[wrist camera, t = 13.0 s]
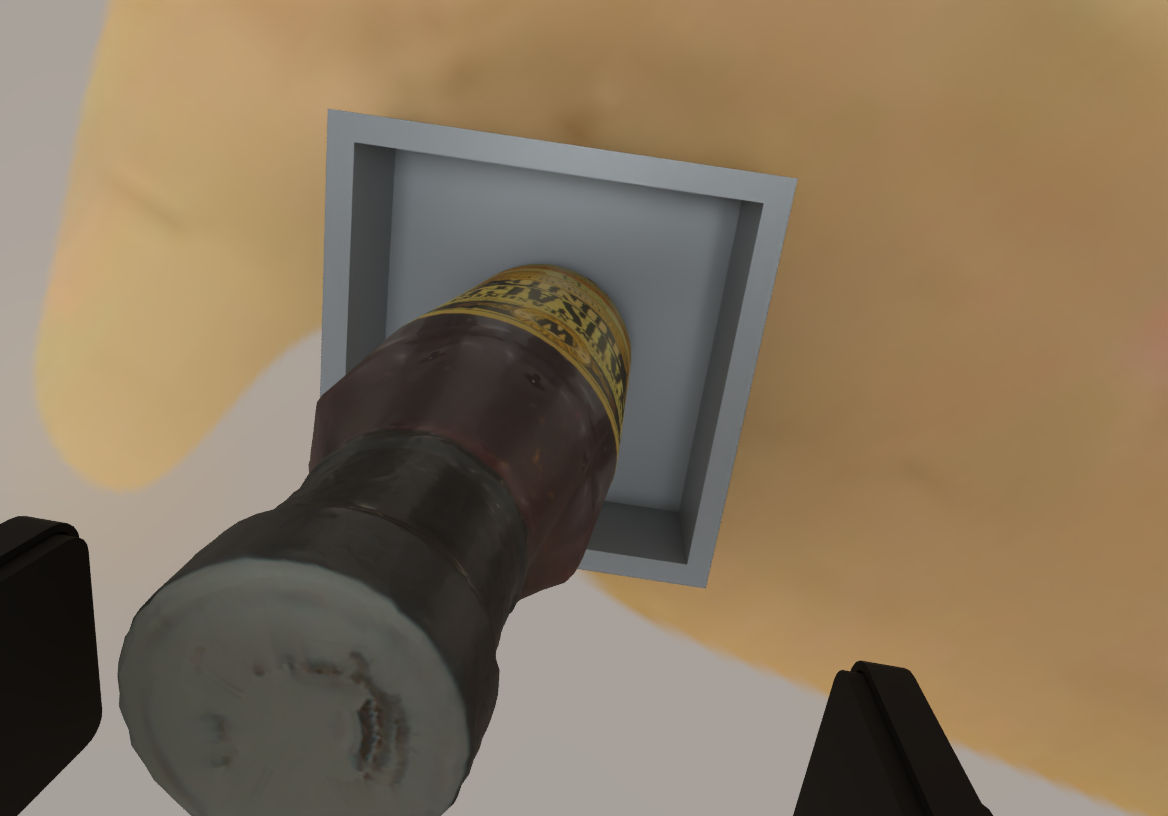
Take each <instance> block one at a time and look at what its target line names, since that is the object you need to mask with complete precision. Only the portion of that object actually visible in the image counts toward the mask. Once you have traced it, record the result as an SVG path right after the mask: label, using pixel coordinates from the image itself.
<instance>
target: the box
mask: <svg viewBox="0 0 1168 816" xmlns="http://www.w3.org/2000/svg"><path fill="white" fill-rule="evenodd" d="M797 180H798V179H797V178H790V177H784V176H777V175H770V174H763V173H757V172H750V171H743V170H737V169H730V168H723V167H716V166H710V165H703V164H696V163H690V162H683V161H676V160H669V159H663V158H656V157H649V156H643V155H636V154H629V153H622V152H616V151H609V150H602V149H596V148H589V147H582V146H575V145H569V144H562V143H555V142H549V141H542V140H535V139H528V138H522V137H515V136H508V135H502V134H495V133H488V132H481V131H475V130H468V129H461V128H454V127H448V126H441V125H434V124H428V123H421V122H414V121H407V120H401V119H394V118H387V117H381V116H374V115H367V114H360V113H354V112H347V111H340V110H334V109H328V122H327V160H326V198H325V235H324V273H323V311H322V349H321V350H322V351H321V386H320V397H321V396H322V395H323V394H324V393H325V392H326V391H327V390H329V389H330V388H331V387H332V386H333V385H334V384H336V383H337V382H338V381H339V380H340V379H342V378H343V377H344V376H345V375H346V374H347V373H348V372H350V371H351V370H352V369H353V368H354V367H355V366H356V365H358V364H359V363H360V362H361V361H362V360H363V359H364V358H366V357H367V356H368V355H369V354H370V353H371V352H372V351H374V350H375V349H376V348H377V347H378V346H379V345H380V344H381V343H383V342H384V341H385V340H386V339H387V338H388V337H389V336H390V335H392V334H393V333H394V332H395V331H397V330H398V329H399V328H401V327H402V326H403V325H405V324H407V323H409V322H411V321H413V320H415V319H416V318H418V317H420V316H422V315H424V314H426V313H427V312H429V311H431V310H433V309H435V308H437V307H439V306H441V305H442V304H444V303H446V302H448V301H450V300H452V299H453V298H455V297H457V296H459V295H461V294H462V293H464V292H466V291H468V290H469V289H471V288H473V287H475V286H476V285H478V284H480V283H482V282H483V281H485V280H487V279H489V278H490V277H492V276H494V275H496V274H497V273H500V272H502V271H505V270H507V269H511V268H514V267H517V266H522V265H529V264H549V265H555V266H559V267H563V268H566V269H569V270H572V271H575V272H576V273H578V274H581V275H582V276H584V277H585V278H589V279H590V280H592V281H593V282H594V283H596V284H597V286H598V287H599V288H600V289H601V290H602V291H603V292H604V293H606V294H607V295H608V296H609V298H610V300H611V301H612V302H613V303H614V305H615V306H616V308H617V309H618V311H619V313H620V315H621V317H622V319H623V321H624V323H625V326H626V329H627V332H628V335H629V339H630V343H631V367H630V375H629V383H628V390H627V396H626V403H625V411H624V419H623V426H622V434H621V441H620V447H619V453H618V459H617V465H616V471H615V475H614V479H613V481H612V483H611V485H610V487H609V490H608V493H607V495H606V498H605V501H604V503H603V506H602V508H601V511H600V514H599V516H598V519H597V521H596V524H595V527H594V529H593V532H592V535H591V538H590V540H589V543H588V546H587V549H586V551H585V554H584V557H583V559H582V561H581V563H580V565H579V566H578V568H577V569H582V570H588V571H595V572H602V573H608V574H615V575H621V576H628V577H634V578H641V579H647V580H654V581H660V582H667V583H673V584H680V585H687V586H693V587H700V588H706V585H707V581H708V576H709V572H710V567H711V563H712V558H713V554H714V550H715V545H716V541H717V536H718V532H719V527H720V523H721V518H722V514H723V509H724V505H725V500H726V496H727V492H728V487H729V483H730V478H731V474H732V469H733V465H734V460H735V456H736V451H737V447H738V443H739V438H740V434H741V429H742V425H743V420H744V416H745V411H746V407H747V402H748V398H749V394H750V389H751V385H752V380H753V376H754V371H755V367H756V362H757V358H758V353H759V349H760V344H761V340H762V336H763V331H764V327H765V322H766V318H767V313H768V309H769V304H770V300H771V295H772V291H773V287H774V282H775V278H776V273H777V269H778V264H779V260H780V255H781V251H782V246H783V242H784V238H785V233H786V229H787V224H788V220H789V215H790V211H791V206H792V202H793V197H794V193H795V188H796V184H797Z"/></svg>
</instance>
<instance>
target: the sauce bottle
mask: <svg viewBox="0 0 1168 816" xmlns="http://www.w3.org/2000/svg"><path fill="white" fill-rule="evenodd" d="M630 367H631V343H630V339H629V335H628V332H627V329H626V326H625V323H624V321H623V319H622V317H621V315H620V313H619V311H618V309H617V308H616V306H615V305H614V303H613V302H612V301H611V300H610V298H609V296H608V295H607V294H606V293H604V292H603V291H602V290H601V289H600V288H599V287H598V286H597V284H596V283H594V282H593V281H592V280H590V279H589V278H585V277H584V276H582V275H581V274H578V273H576V272H575V271H572V270H569V269H566V268H563V267H559V266H555V265H549V264H529V265H522V266H517V267H514V268H511V269H507V270H505V271H502V272H500V273H497V274H496V275H494V276H492V277H490V278H489V279H487V280H485V281H483V282H482V283H480V284H478V285H476V286H475V287H473V288H471V289H469V290H468V291H466V292H464V293H462V294H461V295H459V296H457V297H455V298H453V299H452V300H450V301H448V302H446V303H444V304H442V305H441V306H439V307H437V308H435V309H433V310H431V311H429V312H427V313H426V314H424V315H422V316H420V317H418V318H416V319H415V320H413V321H411V322H409V323H407V324H405V325H403V326H402V327H401V328H399V329H398V330H397V331H395V332H394V333H393V334H392V335H390V336H389V337H388V338H387V339H386V340H385V341H384V342H383V343H381V344H380V345H379V346H378V347H377V348H376V349H375V350H374V351H372V352H371V353H370V354H369V355H368V356H367V357H366V358H364V359H363V360H362V361H361V362H360V363H359V364H358V365H356V366H355V367H354V368H353V369H352V370H351V371H350V372H348V373H347V374H346V375H345V376H344V377H343V378H342V379H340V380H339V381H338V382H337V383H336V384H334V385H333V386H332V387H331V388H330V389H329V390H327V391H326V392H325V393H324V394H323V395H322V396H321V397H320V399H319V400H318V402H317V406H316V414H315V423H314V432H313V440H312V447H311V455H310V456H311V457H310V462H309V474H308V476H307V478H306V479H305V481H304V483H303V484H302V486H301V487H300V489H298V490H297V491H296V492H294V493H293V494H292V495H291V496H290V497H289V498H288V499H287V500H286V501H284V502H283V503H282V504H280V505H278V506H277V507H276V508H275V509H274V510H270V511H266V512H263V513H259V514H256V515H253V516H251V517H248V518H246V519H244V520H242V521H239V522H237V523H236V524H234V525H233V526H231V527H230V528H229V529H227V530H226V531H224V532H223V533H222V534H221V535H219V536H218V537H217V538H216V539H215V540H213V541H212V542H211V543H209V544H208V545H207V546H206V547H204V548H203V549H202V550H200V551H199V552H198V553H197V554H195V556H194V557H193V558H192V559H191V560H190V561H189V562H188V563H187V564H186V565H184V566H183V567H182V568H181V569H180V570H179V571H178V572H177V573H176V574H175V575H174V576H173V577H171V578H170V579H169V580H168V581H167V582H166V583H165V584H164V585H163V586H162V587H161V588H160V589H158V590H157V591H156V592H155V593H154V594H153V595H152V596H151V598H150V599H149V600H148V601H147V602H146V603H145V604H144V605H143V606H142V607H141V608H140V609H139V611H138V612H137V614H136V615H135V616H134V618H133V621H132V624H131V627H130V630H129V632H128V633H127V635H126V636H125V639H124V644H123V647H122V650H121V654H120V658H119V663H118V684H119V692H120V698H119V707H120V710H121V713H122V715H123V718H124V720H125V723H126V725H127V727H128V729H129V734H130V740H131V745H132V747H133V748H134V750H135V751H136V752H137V754H138V756H139V757H140V758H141V760H142V761H143V763H144V764H145V766H146V767H147V769H148V771H149V772H150V774H151V776H152V778H153V779H154V780H155V781H156V782H157V783H158V784H159V785H160V786H161V787H162V788H163V789H164V790H165V791H166V792H167V793H168V794H169V795H170V796H171V797H172V798H173V799H174V800H175V801H176V802H177V803H178V804H179V805H180V806H181V807H183V809H185V810H186V811H187V812H188V813H189V814H190V815H191V816H441V815H442V814H443V813H444V812H445V811H446V810H447V809H448V808H449V807H450V806H452V805H453V804H454V802H455V800H456V798H457V797H458V794H459V791H460V788H461V785H462V783H463V782H464V780H465V779H466V778H467V776H468V775H469V773H470V769H471V766H472V763H473V760H474V758H475V756H476V754H477V752H478V750H479V748H480V745H481V741H482V738H483V736H484V734H485V732H486V730H487V727H488V725H489V723H490V720H491V717H492V714H493V711H494V708H495V704H496V700H497V696H498V687H499V667H498V664H497V661H496V650H497V647H498V644H499V640H500V636H501V631H502V629H503V626H504V624H505V622H506V620H507V618H508V616H509V614H510V613H511V612H512V611H513V609H514V607H515V605H516V603H517V602H518V601H519V600H521V599H523V598H525V597H527V596H530V595H532V594H534V593H537V592H539V591H541V590H543V589H547V588H550V587H553V586H556V585H559V584H562V583H564V582H566V581H567V580H568V579H569V578H570V577H571V576H572V575H573V574H574V573H575V571H576V570H577V568H578V566H579V565H580V563H581V561H582V559H583V557H584V554H585V551H586V549H587V546H588V543H589V540H590V538H591V535H592V532H593V529H594V527H595V524H596V521H597V519H598V516H599V514H600V511H601V508H602V506H603V503H604V501H605V498H606V495H607V493H608V490H609V487H610V485H611V483H612V481H613V479H614V475H615V471H616V465H617V459H618V453H619V447H620V441H621V434H622V426H623V419H624V411H625V403H626V396H627V390H628V383H629V375H630Z"/></svg>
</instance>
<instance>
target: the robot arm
mask: <svg viewBox="0 0 1168 816" xmlns="http://www.w3.org/2000/svg"><path fill="white" fill-rule="evenodd" d="M100 692H101V691H100V680H99V668H98V657H97V644H96V633H95V621H94V609H93V599H92V586H91V574H90V563H89V551H88V546H87V544H86V542H85V541H84V540H83V539H81V538H79V534H78V532H77V530H76V529H75V528H74V526H71V525H70V524H68V523H62V522H56V521H51V520H45V519H39V518H34V517H27V516H17V517H15V518H12V519H9V520H7V521H5V522H3V523H2V524H0V816H17V815H18V814H19V813H20V812H21V811H22V810H23V809H24V808H25V807H26V806H27V805H28V804H29V803H30V802H31V801H32V800H33V799H34V798H35V797H36V796H37V795H38V794H39V793H40V792H41V791H42V790H43V789H44V788H45V787H46V786H47V785H48V784H49V783H50V782H51V781H52V780H53V779H54V778H55V777H56V776H57V775H58V774H59V773H60V772H61V771H62V770H63V769H64V768H65V767H66V766H67V765H68V764H69V763H70V762H71V761H72V760H73V759H74V758H75V757H76V756H77V755H78V754H79V753H80V752H81V751H82V750H83V749H84V748H85V747H86V746H87V745H88V743H89V742H90V741H91V740H92V738H93V737H94V735H95V733H96V732H97V729H98V727H99V724H100V721H101V718H102V703H101V693H100ZM793 816H993V815H992V813H991V812H990V810H989V809H988V808H987V807H985V806H984V805H983V804H982V803H981V801H980V800H979V798H978V796H977V794H976V792H975V790H974V788H973V786H972V784H971V783H970V781H969V779H968V777H967V775H966V773H965V771H964V769H963V767H962V766H961V764H960V762H959V760H958V758H957V756H956V754H955V752H954V751H953V749H952V747H951V745H950V743H949V741H948V739H947V737H946V735H945V734H944V732H943V730H942V728H941V726H940V724H939V722H938V720H937V719H936V717H935V715H934V713H933V711H932V709H931V707H930V705H929V703H928V702H927V700H926V698H925V696H924V694H923V692H922V690H921V688H920V687H919V685H918V683H917V681H916V679H915V677H914V676H913V674H912V673H911V672H910V670H908V669H905V668H900V667H895V666H889V665H883V664H877V663H872V662H866V661H858V662H856V663H855V664H854V665H853V667H852V669H851V671H844V670H841V671H839V672H838V673H837V674H836V677H835V679H834V682H833V685H832V689H831V692H830V695H829V698H828V702H827V705H826V708H825V712H824V715H823V718H822V722H821V725H820V728H819V732H818V735H817V738H816V741H815V745H814V748H813V751H812V755H811V758H810V761H809V765H808V768H807V771H806V775H805V778H804V781H803V784H802V788H801V791H800V794H799V798H798V801H797V804H796V808H795V811H794V814H793Z"/></svg>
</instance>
